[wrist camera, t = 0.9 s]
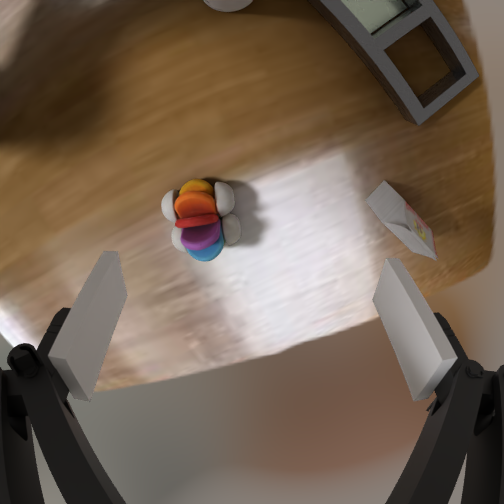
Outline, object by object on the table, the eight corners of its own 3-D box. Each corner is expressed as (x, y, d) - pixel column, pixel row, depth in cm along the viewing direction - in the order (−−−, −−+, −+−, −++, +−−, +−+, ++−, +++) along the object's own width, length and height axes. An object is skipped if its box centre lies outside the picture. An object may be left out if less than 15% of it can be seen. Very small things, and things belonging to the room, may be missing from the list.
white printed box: (395, 228, 42) (426, 271, 33) (364, 200, 40) (394, 240, 31) (413, 210, 40) (448, 249, 32) (384, 179, 38) (419, 215, 30)
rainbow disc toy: (229, 168, 37) (226, 191, 31) (244, 238, 42) (244, 271, 36) (161, 181, 38) (145, 206, 32) (182, 248, 43) (172, 281, 37)
